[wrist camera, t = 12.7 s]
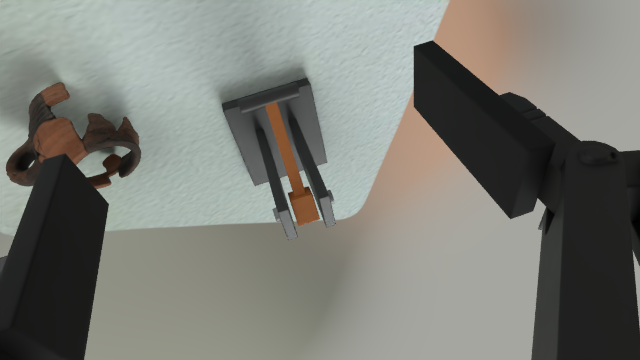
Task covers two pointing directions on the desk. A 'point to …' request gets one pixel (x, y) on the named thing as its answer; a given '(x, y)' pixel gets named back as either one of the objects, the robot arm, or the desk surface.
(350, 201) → the desk surface
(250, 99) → the switch
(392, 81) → the desk surface
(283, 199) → the switch base
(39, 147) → the brown jagged hollow piece
